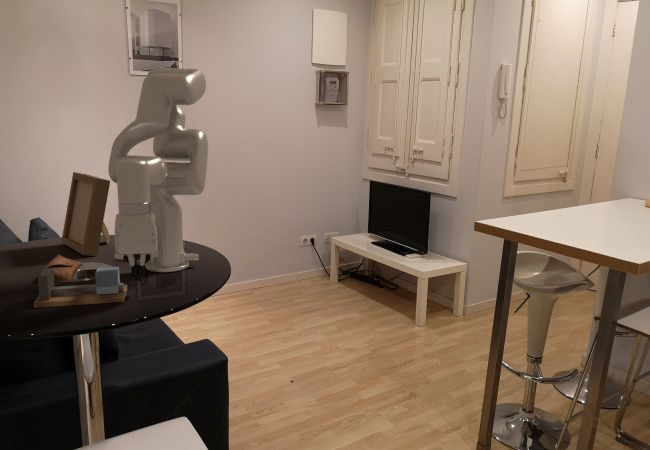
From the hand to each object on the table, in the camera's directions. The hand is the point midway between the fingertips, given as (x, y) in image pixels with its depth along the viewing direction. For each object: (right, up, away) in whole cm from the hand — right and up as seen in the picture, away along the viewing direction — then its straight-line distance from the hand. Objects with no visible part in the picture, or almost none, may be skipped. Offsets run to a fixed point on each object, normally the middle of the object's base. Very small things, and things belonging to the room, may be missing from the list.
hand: (138, 279), depth 135 cm
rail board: (-13, -4, -3) cm, 14 cm away
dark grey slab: (-21, -3, -5) cm, 21 cm away
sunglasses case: (-28, 0, +17) cm, 33 cm away
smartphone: (-16, 0, +18) cm, 24 cm away
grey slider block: (-7, -3, -1) cm, 8 cm away
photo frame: (-31, +6, +45) cm, 55 cm away
